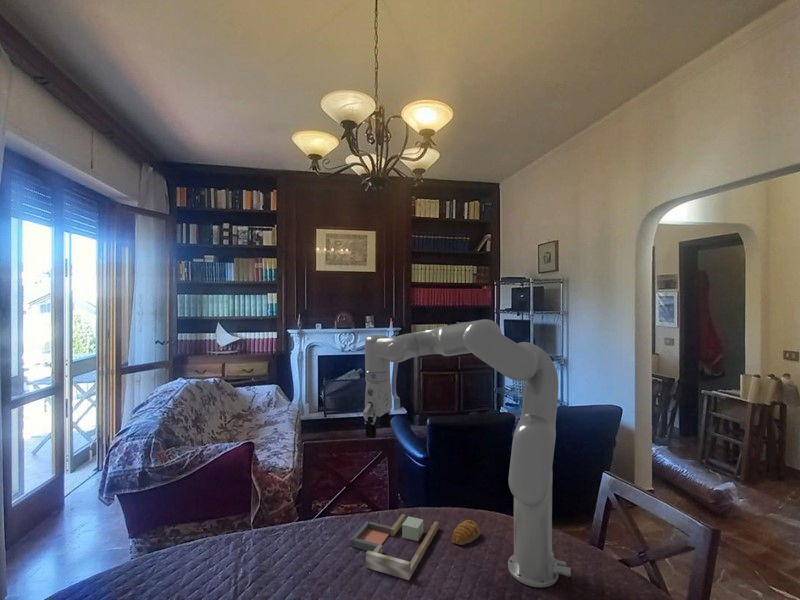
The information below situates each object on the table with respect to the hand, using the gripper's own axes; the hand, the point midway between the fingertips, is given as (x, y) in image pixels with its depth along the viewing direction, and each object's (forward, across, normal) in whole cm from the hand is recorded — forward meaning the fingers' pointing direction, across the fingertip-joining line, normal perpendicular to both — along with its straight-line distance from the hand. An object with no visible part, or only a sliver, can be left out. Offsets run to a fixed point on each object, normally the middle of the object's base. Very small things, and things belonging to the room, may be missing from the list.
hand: (378, 431), depth 124 cm
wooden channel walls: (+31, -3, -10) cm, 33 cm away
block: (+31, +3, -10) cm, 33 cm away
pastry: (+32, +8, -25) cm, 41 cm away
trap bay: (+31, -4, 0) cm, 31 cm away
